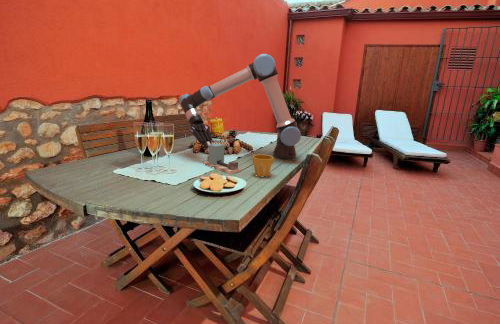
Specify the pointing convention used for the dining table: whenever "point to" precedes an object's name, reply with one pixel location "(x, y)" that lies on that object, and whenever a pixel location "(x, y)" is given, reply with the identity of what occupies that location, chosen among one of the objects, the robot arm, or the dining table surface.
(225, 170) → the cord board
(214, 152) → the marker sleeve
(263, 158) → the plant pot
